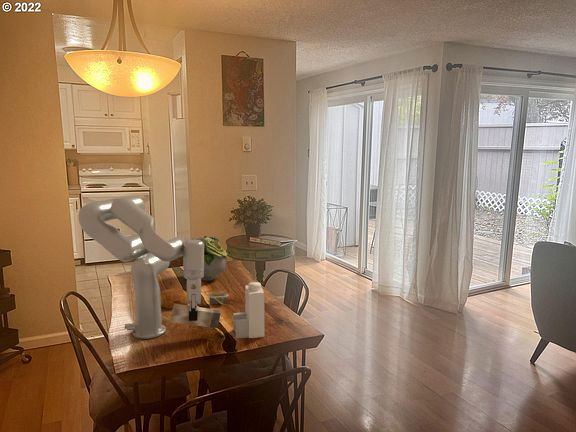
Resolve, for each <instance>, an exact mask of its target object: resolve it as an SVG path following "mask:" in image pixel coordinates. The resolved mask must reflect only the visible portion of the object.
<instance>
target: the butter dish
mask: <svg viewBox="0 0 576 432" xmlns="http://www.w3.org/2000/svg"><path fill="white" fill-rule="evenodd" d="M206 296H207V297H208V298H209V305H216V304H217V305H219V304H220V305H224V304H227V299H228V298H227V297H228V296H229V293H228V292H225V290H222V291H220V290H218V291H217V290H216V291H212V293H207V294H206Z"/></svg>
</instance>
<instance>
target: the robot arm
mask: <svg viewBox="0 0 576 432" xmlns="http://www.w3.org/2000/svg"><path fill="white" fill-rule="evenodd" d="M79 209H80V210H79V211H78V216H77V217H78V222H79V226H80V228H81V229H82V231H83V232H84V233H85V234H86V235H87V236H89V238H91V239H92V240H93V241H95V242H97V243H98V244H99V245H100V246H102V247H103V248H104V249H105V250H107V251H108V252H109V253H110V254H111V255H112V256H114V257H115V259H117V260H119V261H120V262H123V263H128V262H131V261H132V263H131V266H130V275H131V277H132V281H133V291H134V302H135V303H134V304H135V321H133V322H132V323H130V322H129V323H124V329H125V330H126V331H132V336H133V337H134V338H137V339H139V340H141V339H142V340H146V339H147V340H148V339H154V338H157V337H160V336H162V335H164V334H165V332H166V331H167V327H166V325H164V324H162V307H161V299H160V293H161V287H160V283H159V281H158V278H157V276H159V275H161V274H162V273H163V272H165V271H166V270H168V269H169V266H170V264H171V262H172V261H174V260H177V259H178V258H182V257H183V258H182V259H183V265H182V267H183V271H182V272H183V274H182V275H183V278H184V279H186V292H187V300H188V304H187V305H188V306H190V311H189V321H197V315H198V310H197V307H198V305H200V304H201V303H202V280H201V278H202V277H203V276H204V243H203V242H202V241H200V240H192V239H189V238H186V237H182V236H176V237H172V238H170V239H168V240H165V238H163V237H161V236H160V235H159V234H158V233H157V232H156V231H155V230H154V226H155V225H154V224H155V218H154V217H153V216H152V215H151V214H149V213H148V212H147V211H146V210H145V209H146V205H145V202H144V200H143V199H142V198H140V197H139V196H137V195H129V196H122V197H116V198H108V199H103V200H97V201H93V202H89V203H86V204H84V205H83V206H82V207H81V208H79ZM113 220H118V221H120V222H121V223H122V224H124V225H125V226H126V227H128V228H129V229H131V231H133V232H134V233H135V234H131V235H126V234H125V233H123V232H122V231H120V230H119V229H118V228H117V227H115V226H113V225H110V224H108V223H107V222H109V221H113Z"/></svg>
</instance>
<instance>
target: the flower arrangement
mask: <svg viewBox="0 0 576 432" xmlns="http://www.w3.org/2000/svg"><path fill="white" fill-rule="evenodd" d="M191 240H200V241H202V242H203V243H204V276H203V277H202V278H201V281H205V282H208V281H214V280H215V279H216V278H217V276H218V275H220V274H222V272H223V271H225V269H226V266H227V260H228V253H227V251H226V250H225V248H223V246H222V245H221V244H220V242H219V238H216V237H213V236H205V235H204V236H197V237H194V238H191Z"/></svg>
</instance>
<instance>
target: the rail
mask: <svg viewBox="0 0 576 432" xmlns="http://www.w3.org/2000/svg"><path fill="white" fill-rule="evenodd" d="M197 310H198V315H197V321H189V311H190V306H189V305H188V304H187V305H180V304H174V305H173V309H172V310H171V315H170V323H176V324H183V325H184V324H185V325H190V326H198V327H205V328H212V329H218V326H219V323H220V318H221V314H222V313H221V310H220V309H215V308H206V307H201V306H200V307H199V306H197Z"/></svg>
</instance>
